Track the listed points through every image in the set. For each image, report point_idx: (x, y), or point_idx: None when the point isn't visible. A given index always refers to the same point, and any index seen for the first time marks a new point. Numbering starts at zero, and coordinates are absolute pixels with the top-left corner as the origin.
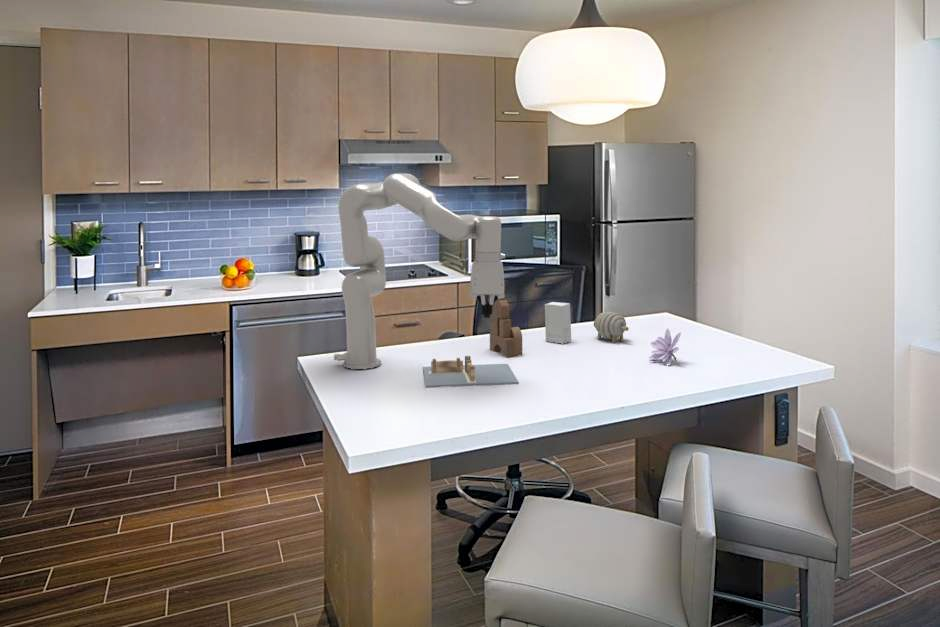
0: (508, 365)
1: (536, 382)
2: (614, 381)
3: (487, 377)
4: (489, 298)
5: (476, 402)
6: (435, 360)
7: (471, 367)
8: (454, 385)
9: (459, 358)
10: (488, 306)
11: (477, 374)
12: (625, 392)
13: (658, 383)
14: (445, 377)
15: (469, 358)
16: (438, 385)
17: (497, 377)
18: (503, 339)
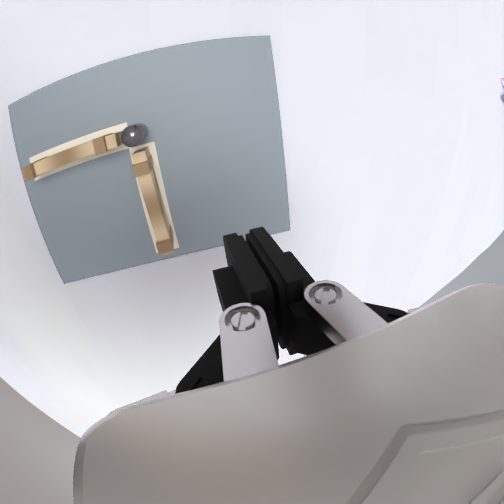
0: (271, 56)
1: (330, 212)
2: (447, 202)
3: (206, 193)
4: (332, 336)
5: (198, 352)
6: (33, 178)
7: (163, 252)
8: (126, 266)
9: (103, 146)
10: (287, 347)
11: (172, 163)
12: (436, 261)
13: (479, 213)
14: (85, 208)
15: (139, 142)
16: (90, 276)
17: (235, 192)
18: None
